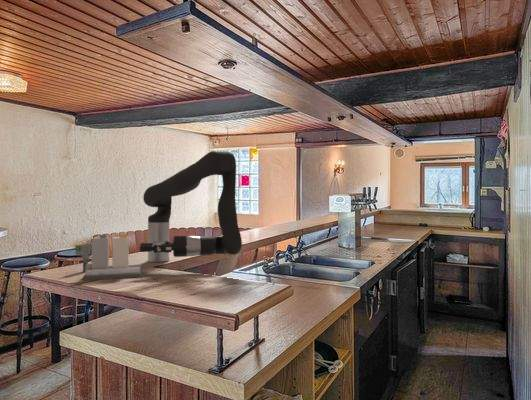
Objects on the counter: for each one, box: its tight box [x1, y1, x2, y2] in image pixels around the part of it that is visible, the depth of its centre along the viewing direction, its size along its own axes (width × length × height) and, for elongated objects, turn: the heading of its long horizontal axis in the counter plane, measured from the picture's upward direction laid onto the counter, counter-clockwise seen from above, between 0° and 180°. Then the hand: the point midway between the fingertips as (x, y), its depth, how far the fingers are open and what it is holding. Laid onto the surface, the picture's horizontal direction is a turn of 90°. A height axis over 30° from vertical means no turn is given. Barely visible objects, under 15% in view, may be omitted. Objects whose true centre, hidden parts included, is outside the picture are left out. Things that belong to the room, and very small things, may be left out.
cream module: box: [111, 233, 130, 268], centre depth 133 cm, size 4×5×13 cm
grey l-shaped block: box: [82, 234, 143, 281], centre depth 132 cm, size 12×18×14 cm, turn 108°
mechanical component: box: [74, 242, 92, 272], centre depth 142 cm, size 3×10×10 cm, turn 174°
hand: (140, 247), depth 135 cm, fingers open, 8 cm apart
